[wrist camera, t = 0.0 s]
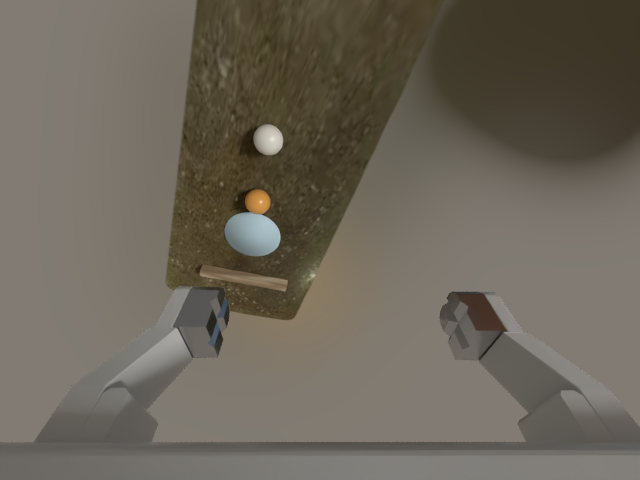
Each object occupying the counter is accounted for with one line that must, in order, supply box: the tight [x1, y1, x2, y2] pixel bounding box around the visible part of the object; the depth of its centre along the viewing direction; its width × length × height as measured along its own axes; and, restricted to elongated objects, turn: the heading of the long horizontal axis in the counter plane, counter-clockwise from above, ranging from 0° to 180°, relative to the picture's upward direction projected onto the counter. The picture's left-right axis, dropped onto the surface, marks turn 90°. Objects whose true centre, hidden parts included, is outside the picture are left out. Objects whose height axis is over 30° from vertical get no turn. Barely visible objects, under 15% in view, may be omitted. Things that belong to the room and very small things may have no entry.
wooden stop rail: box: [200, 264, 288, 291], centre depth 77 cm, size 2×24×2 cm, turn 74°
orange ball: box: [245, 189, 270, 214], centre depth 59 cm, size 6×6×6 cm
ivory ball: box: [253, 124, 283, 155], centre depth 51 cm, size 6×6×6 cm
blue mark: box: [224, 212, 280, 256], centre depth 69 cm, size 14×14×1 cm
